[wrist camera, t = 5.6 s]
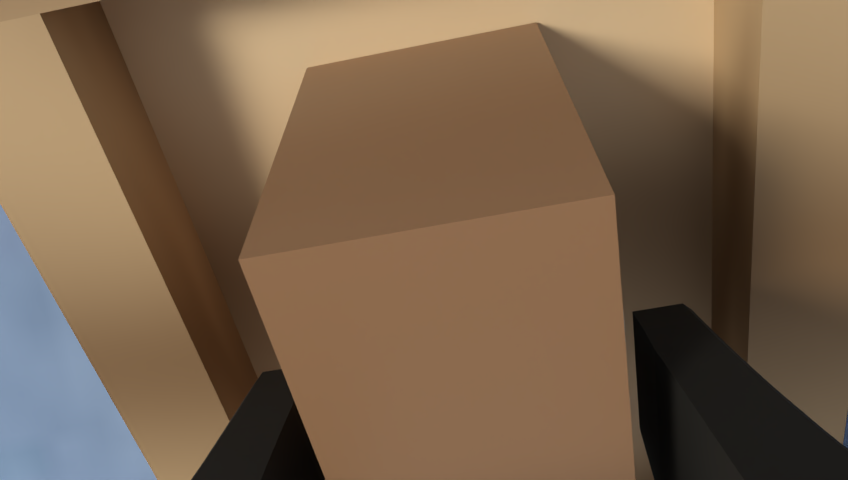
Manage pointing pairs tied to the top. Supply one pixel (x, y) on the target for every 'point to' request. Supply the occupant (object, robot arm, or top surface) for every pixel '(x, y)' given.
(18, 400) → the top surface
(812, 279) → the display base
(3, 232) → the top surface
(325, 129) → the tan wooden post
